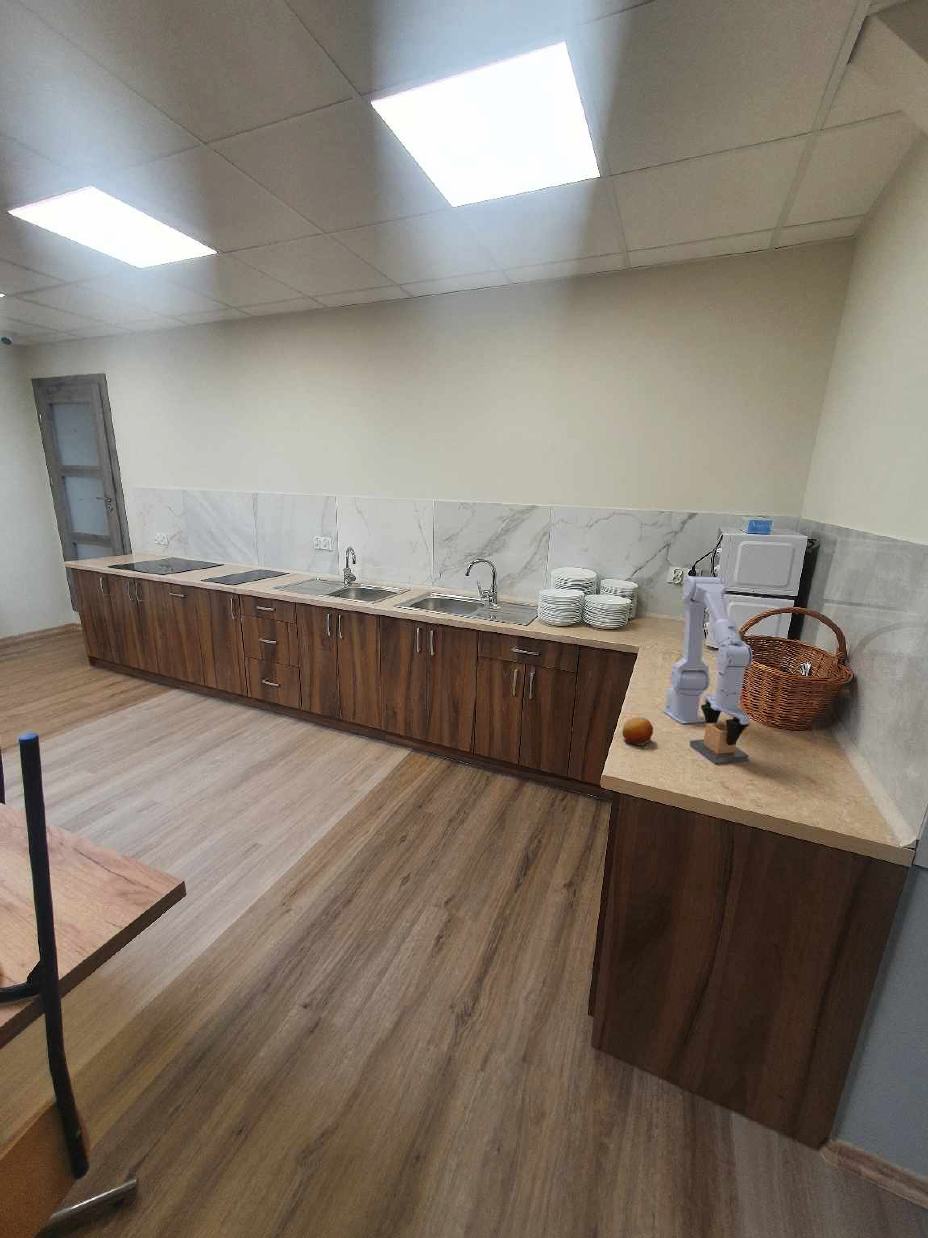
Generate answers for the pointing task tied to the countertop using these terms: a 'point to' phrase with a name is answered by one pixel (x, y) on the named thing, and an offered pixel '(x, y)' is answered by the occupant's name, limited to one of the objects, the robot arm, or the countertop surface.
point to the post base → (718, 758)
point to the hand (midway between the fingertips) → (720, 737)
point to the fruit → (637, 731)
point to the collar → (717, 738)
